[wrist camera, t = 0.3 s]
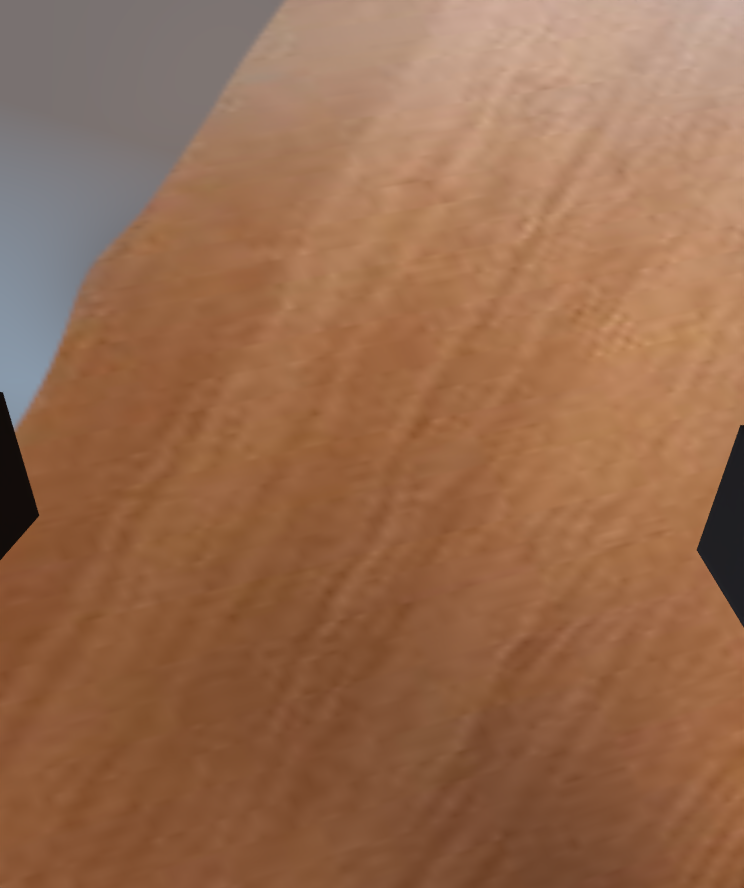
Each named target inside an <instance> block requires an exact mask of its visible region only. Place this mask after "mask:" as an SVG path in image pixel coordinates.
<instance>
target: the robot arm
mask: <svg viewBox="0 0 744 888" xmlns="http://www.w3.org/2000/svg"><path fill="white" fill-rule="evenodd" d="M38 516H39V513H38V510H37V506H36V503H35V499H34V496H33V493H32V489H31V486H30V483H29V479H28V476H27V472H26V469H25V466H24V462H23V459H22V455H21V452H20V449H19V445H18V442H17V439H16V435H15V432H14V428H13V425H12V422H11V418H10V415H9V412H8V408H7V405H6V401H5V398H4V395H3V392H0V560H1V559H2V558H3V557H4V555H5V554H6V553H7V552H8V551H9V550H10V549H11V547H12V546H13V545H14V544H15V543H16V542H17V541H18V539H19V538H20V537H21V536H22V535H23V534H24V532H25V531H26V530H27V529H28V528H29V527H30V526H31V524H32V523H33V522H34V521H35V520H36V519H37V518H38ZM697 551H698V553H699V555H700V556H701V558H702V560H703V561H704V563H705V565H706V566H707V568H708V569H709V571H710V573H711V574H712V576H713V578H714V579H715V581H716V583H717V584H718V586H719V588H720V589H721V591H722V592H723V594H724V596H725V597H726V599H727V601H728V602H729V604H730V606H731V607H732V609H733V611H734V612H735V614H736V615H737V617H738V619H739V620H740V622H741V624H742V625H743V627H744V425H740V428H739V431H738V434H737V436H736V439H735V442H734V445H733V448H732V451H731V454H730V456H729V459H728V462H727V465H726V468H725V471H724V474H723V476H722V479H721V482H720V485H719V488H718V491H717V494H716V496H715V499H714V502H713V505H712V508H711V511H710V514H709V516H708V519H707V522H706V525H705V528H704V531H703V534H702V536H701V539H700V542H699V545H698V548H697Z"/></svg>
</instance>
